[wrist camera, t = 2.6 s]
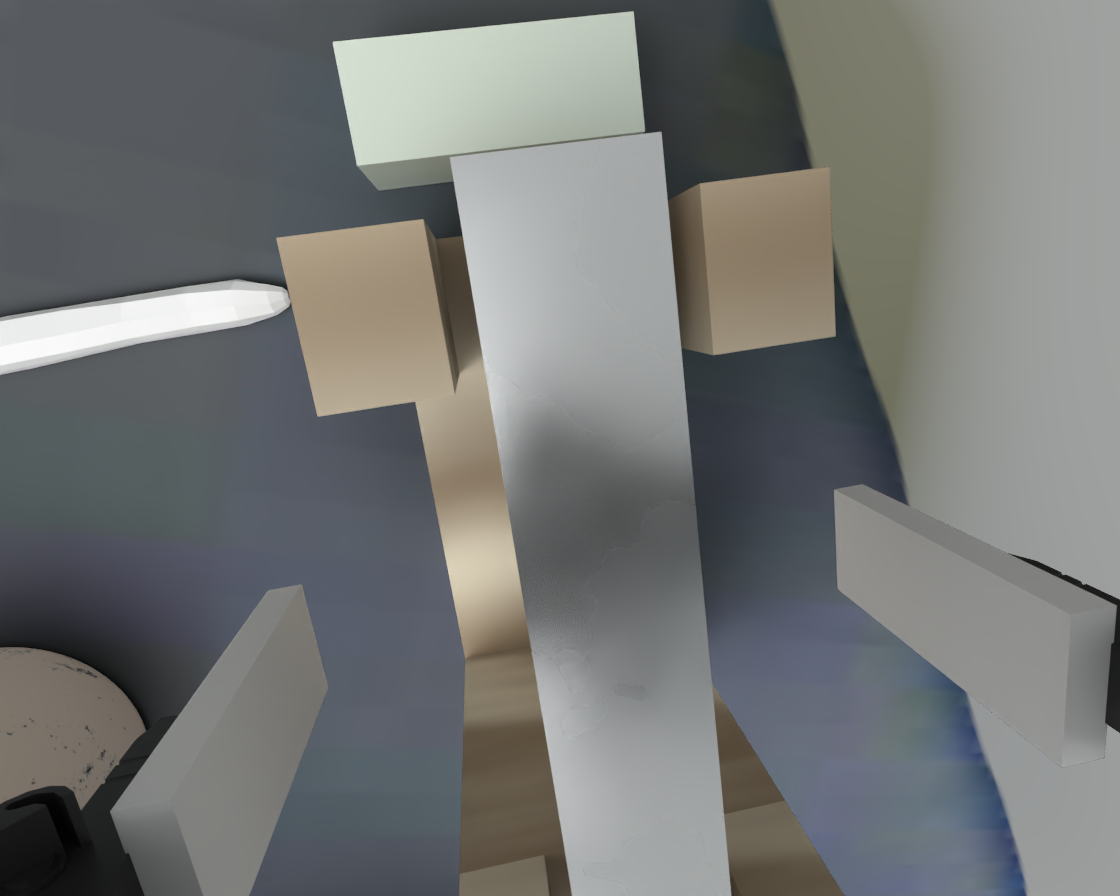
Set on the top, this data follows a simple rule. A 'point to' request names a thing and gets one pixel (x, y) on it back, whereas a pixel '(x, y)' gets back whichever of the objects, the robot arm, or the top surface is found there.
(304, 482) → the top surface
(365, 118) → the rest
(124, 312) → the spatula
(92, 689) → the teacup with lid
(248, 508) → the top surface
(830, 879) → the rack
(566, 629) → the rail
